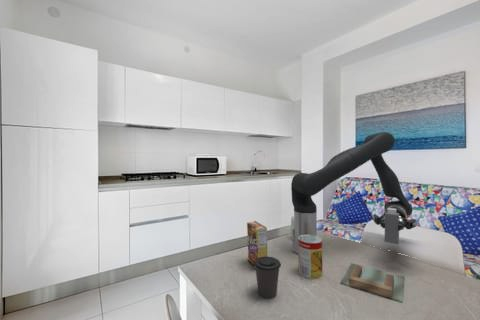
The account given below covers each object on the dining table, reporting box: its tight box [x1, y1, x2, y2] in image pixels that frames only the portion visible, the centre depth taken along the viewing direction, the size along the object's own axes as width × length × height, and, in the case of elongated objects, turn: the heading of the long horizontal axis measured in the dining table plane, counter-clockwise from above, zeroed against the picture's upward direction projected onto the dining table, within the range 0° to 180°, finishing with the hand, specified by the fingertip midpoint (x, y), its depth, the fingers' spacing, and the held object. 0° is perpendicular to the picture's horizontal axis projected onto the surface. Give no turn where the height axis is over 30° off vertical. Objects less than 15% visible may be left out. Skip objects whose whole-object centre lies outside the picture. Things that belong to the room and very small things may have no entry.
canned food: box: [298, 235, 323, 280], centre depth 79 cm, size 8×8×12 cm
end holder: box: [339, 263, 405, 303], centre depth 73 cm, size 16×16×2 cm
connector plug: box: [384, 208, 400, 245], centre depth 81 cm, size 4×4×12 cm
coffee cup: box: [253, 256, 282, 300], centre depth 67 cm, size 8×8×10 cm
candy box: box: [246, 220, 269, 266], centre depth 85 cm, size 9×4×15 cm, turn 23°
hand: (391, 226), depth 78 cm, fingers closed on connector plug, 4 cm apart
